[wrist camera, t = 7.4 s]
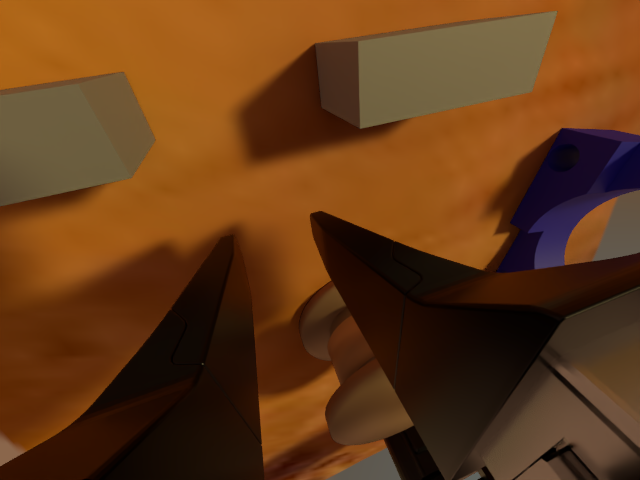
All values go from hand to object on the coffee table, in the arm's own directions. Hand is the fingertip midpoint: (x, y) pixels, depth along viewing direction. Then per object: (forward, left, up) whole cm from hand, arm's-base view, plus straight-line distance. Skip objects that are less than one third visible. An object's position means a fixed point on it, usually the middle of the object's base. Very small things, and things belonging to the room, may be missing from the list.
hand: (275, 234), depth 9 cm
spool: (-10, -4, -3) cm, 11 cm away
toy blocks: (+4, 0, -3) cm, 5 cm away
